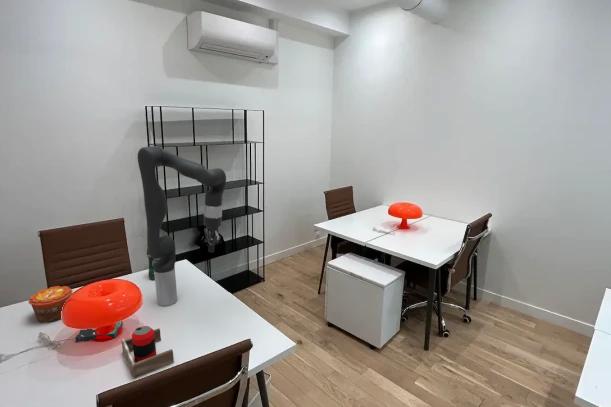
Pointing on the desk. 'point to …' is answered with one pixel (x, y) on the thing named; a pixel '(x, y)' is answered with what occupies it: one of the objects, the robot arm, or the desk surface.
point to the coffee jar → (151, 266)
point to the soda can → (143, 343)
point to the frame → (149, 363)
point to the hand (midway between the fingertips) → (211, 251)
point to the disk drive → (90, 334)
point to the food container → (49, 303)
